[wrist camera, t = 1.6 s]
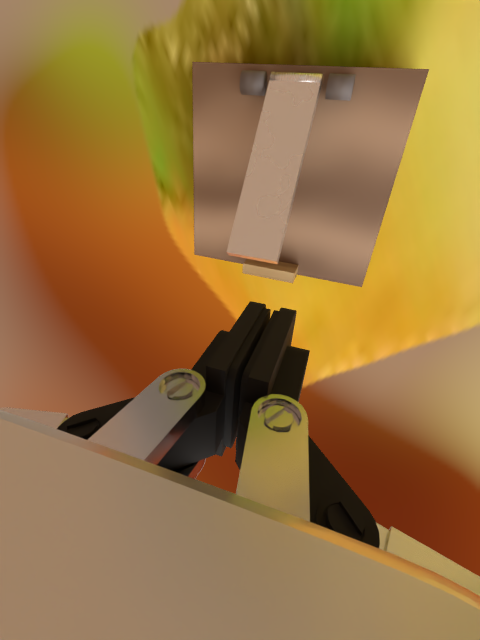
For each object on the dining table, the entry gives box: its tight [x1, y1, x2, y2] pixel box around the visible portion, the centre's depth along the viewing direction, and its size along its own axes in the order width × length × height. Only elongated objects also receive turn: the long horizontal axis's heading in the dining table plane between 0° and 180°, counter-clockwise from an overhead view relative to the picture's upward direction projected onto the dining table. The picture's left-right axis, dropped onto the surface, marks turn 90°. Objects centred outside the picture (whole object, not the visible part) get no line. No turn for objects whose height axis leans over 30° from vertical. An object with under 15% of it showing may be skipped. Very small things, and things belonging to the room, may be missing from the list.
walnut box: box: [193, 62, 429, 287], centre depth 23 cm, size 13×14×7 cm
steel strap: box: [227, 72, 323, 264], centre depth 18 cm, size 11×3×1 cm
